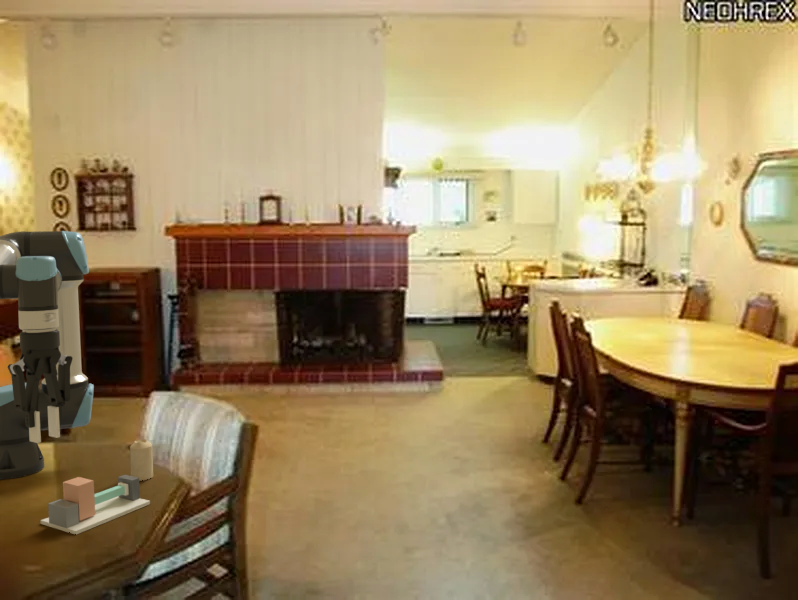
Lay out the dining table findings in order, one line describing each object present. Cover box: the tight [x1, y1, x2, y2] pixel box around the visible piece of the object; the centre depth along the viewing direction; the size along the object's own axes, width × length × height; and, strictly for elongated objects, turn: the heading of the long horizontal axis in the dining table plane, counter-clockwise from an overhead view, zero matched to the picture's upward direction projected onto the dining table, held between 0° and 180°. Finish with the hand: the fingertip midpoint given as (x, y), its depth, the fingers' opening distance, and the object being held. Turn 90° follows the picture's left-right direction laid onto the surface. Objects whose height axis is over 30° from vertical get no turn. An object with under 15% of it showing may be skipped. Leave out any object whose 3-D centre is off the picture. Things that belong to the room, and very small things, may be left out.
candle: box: [129, 438, 154, 482], centre depth 190 cm, size 6×6×10 cm
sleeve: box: [62, 476, 95, 521], centre depth 161 cm, size 5×4×8 cm
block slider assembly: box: [40, 474, 151, 535], centre depth 165 cm, size 12×20×6 cm, turn 150°
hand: (44, 438), depth 153 cm, fingers open, 4 cm apart
